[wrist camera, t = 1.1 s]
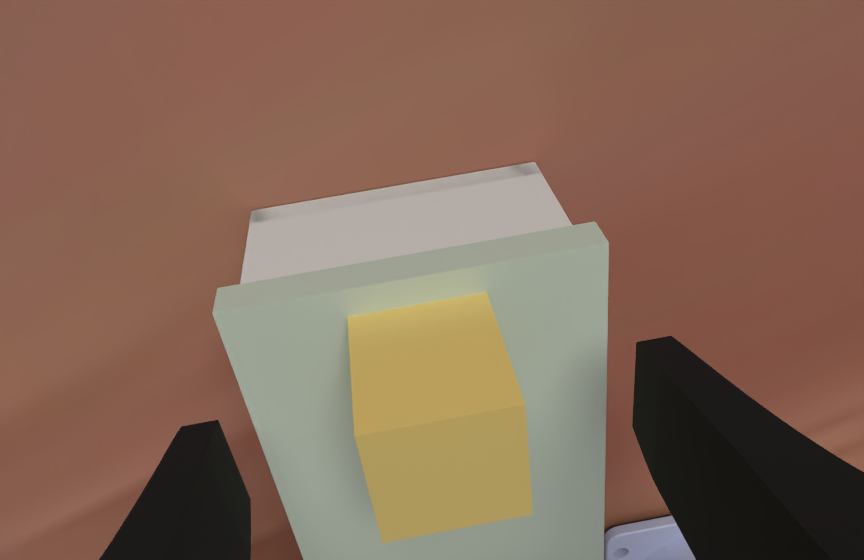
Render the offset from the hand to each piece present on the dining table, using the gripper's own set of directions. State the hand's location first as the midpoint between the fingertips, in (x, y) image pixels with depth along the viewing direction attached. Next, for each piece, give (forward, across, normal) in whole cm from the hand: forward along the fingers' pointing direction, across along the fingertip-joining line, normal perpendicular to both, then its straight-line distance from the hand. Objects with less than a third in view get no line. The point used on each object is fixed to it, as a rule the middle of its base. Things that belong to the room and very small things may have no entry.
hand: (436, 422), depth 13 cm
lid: (+3, 0, +3) cm, 4 cm away
